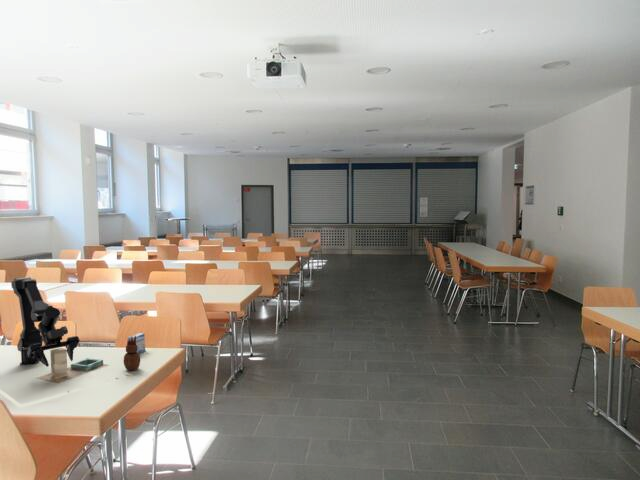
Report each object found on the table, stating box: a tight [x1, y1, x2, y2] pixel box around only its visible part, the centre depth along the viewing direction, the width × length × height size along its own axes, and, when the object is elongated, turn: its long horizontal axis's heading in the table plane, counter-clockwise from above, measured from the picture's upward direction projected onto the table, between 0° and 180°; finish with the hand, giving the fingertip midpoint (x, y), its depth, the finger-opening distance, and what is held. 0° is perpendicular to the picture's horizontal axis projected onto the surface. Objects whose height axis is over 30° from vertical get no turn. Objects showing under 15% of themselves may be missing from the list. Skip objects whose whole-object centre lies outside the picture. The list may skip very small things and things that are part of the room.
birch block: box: [49, 347, 68, 379], centre depth 193 cm, size 4×4×11 cm
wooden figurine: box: [123, 334, 141, 372], centre depth 203 cm, size 7×6×15 cm
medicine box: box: [127, 332, 146, 354], centre depth 228 cm, size 8×4×9 cm, turn 168°
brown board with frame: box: [36, 358, 109, 384], centre depth 199 cm, size 24×14×3 cm, turn 154°
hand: (60, 363), depth 192 cm, fingers open, 9 cm apart
